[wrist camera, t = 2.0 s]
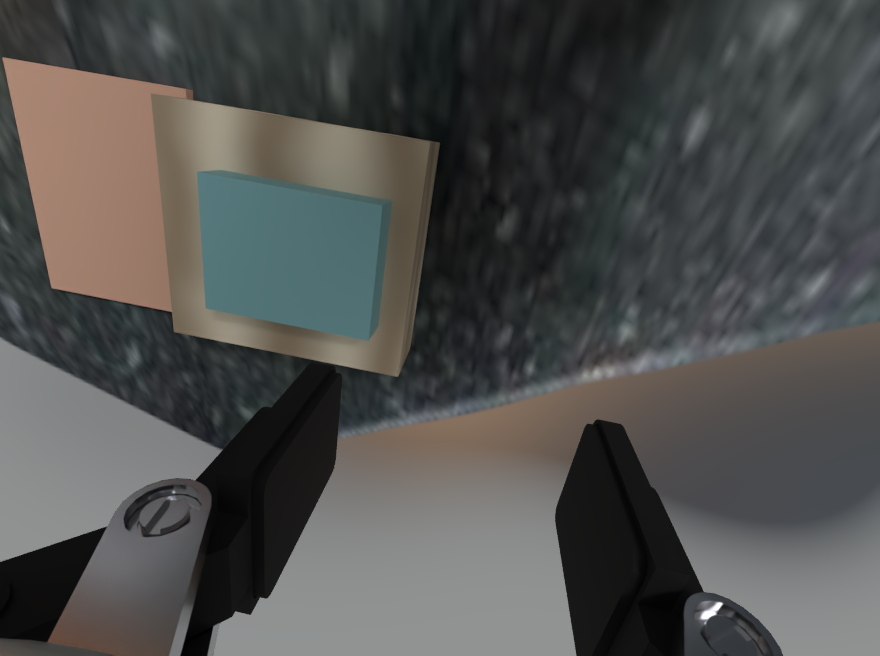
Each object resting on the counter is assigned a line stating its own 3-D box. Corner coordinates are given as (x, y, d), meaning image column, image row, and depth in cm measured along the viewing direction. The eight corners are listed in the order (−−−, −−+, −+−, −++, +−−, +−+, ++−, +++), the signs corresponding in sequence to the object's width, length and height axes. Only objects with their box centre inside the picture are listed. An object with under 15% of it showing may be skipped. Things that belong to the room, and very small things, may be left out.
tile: (392, 200, 22) (382, 205, 20) (378, 326, 25) (368, 340, 23) (221, 169, 22) (196, 171, 20) (226, 296, 25) (205, 308, 23)
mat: (192, 90, 25) (185, 88, 24) (206, 314, 30) (201, 317, 30) (13, 59, 25) (2, 57, 25) (59, 285, 31) (51, 288, 30)
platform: (440, 142, 24) (430, 141, 21) (410, 348, 29) (397, 376, 26) (201, 101, 25) (150, 93, 21) (213, 309, 30) (173, 331, 26)
